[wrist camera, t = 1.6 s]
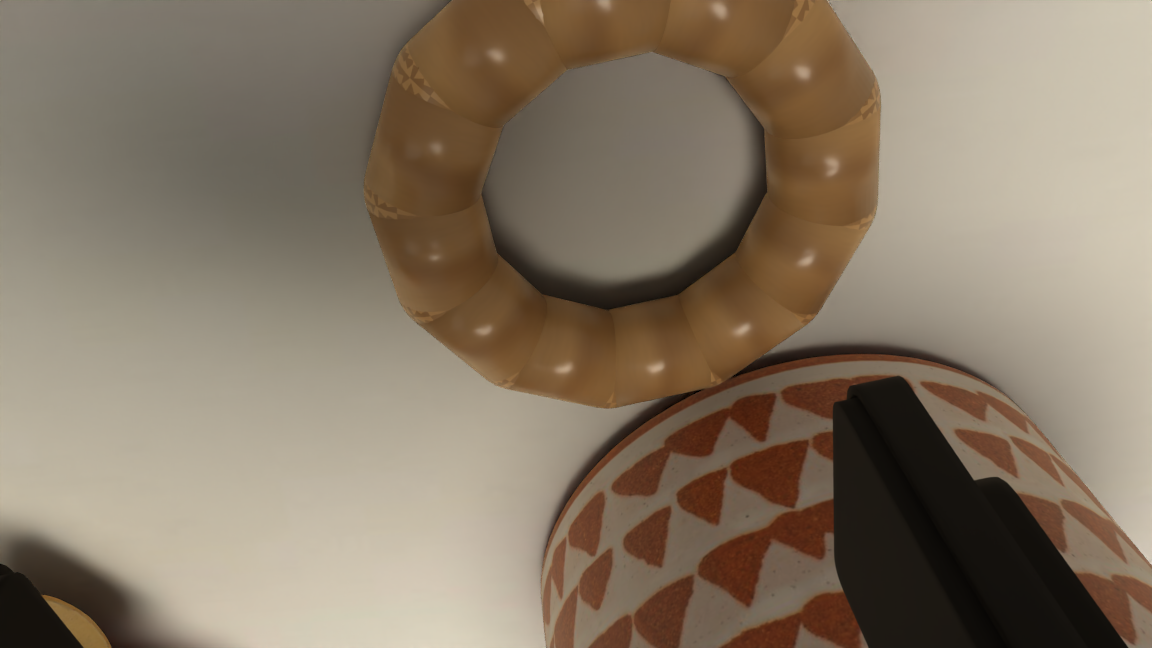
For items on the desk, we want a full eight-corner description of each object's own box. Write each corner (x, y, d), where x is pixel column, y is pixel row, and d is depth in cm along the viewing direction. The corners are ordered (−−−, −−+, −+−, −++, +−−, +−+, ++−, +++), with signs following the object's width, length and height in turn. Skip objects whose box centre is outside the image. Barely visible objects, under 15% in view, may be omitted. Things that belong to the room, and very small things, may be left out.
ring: (302, -23, 15) (284, 12, 13) (857, -142, 15) (910, -122, 13) (445, 402, 20) (445, 464, 18) (852, 315, 20) (889, 369, 18)
